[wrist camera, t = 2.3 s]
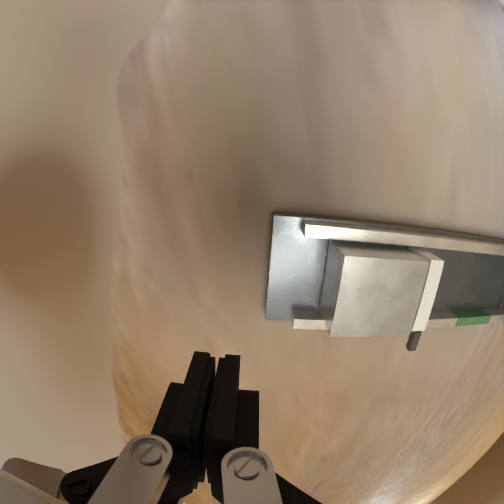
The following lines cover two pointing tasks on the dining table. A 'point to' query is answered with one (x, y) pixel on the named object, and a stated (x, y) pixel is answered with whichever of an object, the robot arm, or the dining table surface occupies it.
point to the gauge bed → (433, 240)
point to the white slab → (425, 295)
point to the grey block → (371, 288)
